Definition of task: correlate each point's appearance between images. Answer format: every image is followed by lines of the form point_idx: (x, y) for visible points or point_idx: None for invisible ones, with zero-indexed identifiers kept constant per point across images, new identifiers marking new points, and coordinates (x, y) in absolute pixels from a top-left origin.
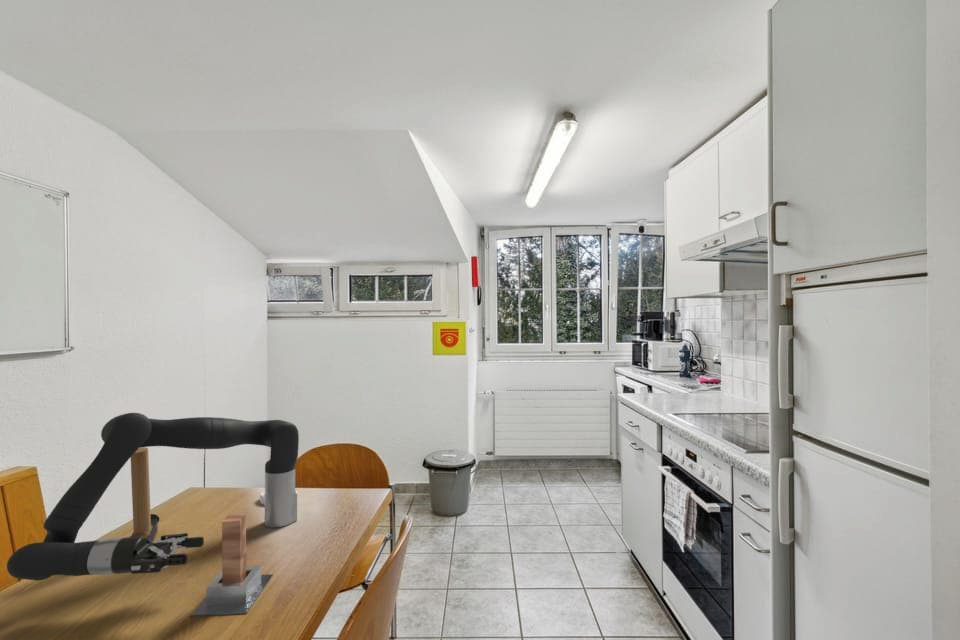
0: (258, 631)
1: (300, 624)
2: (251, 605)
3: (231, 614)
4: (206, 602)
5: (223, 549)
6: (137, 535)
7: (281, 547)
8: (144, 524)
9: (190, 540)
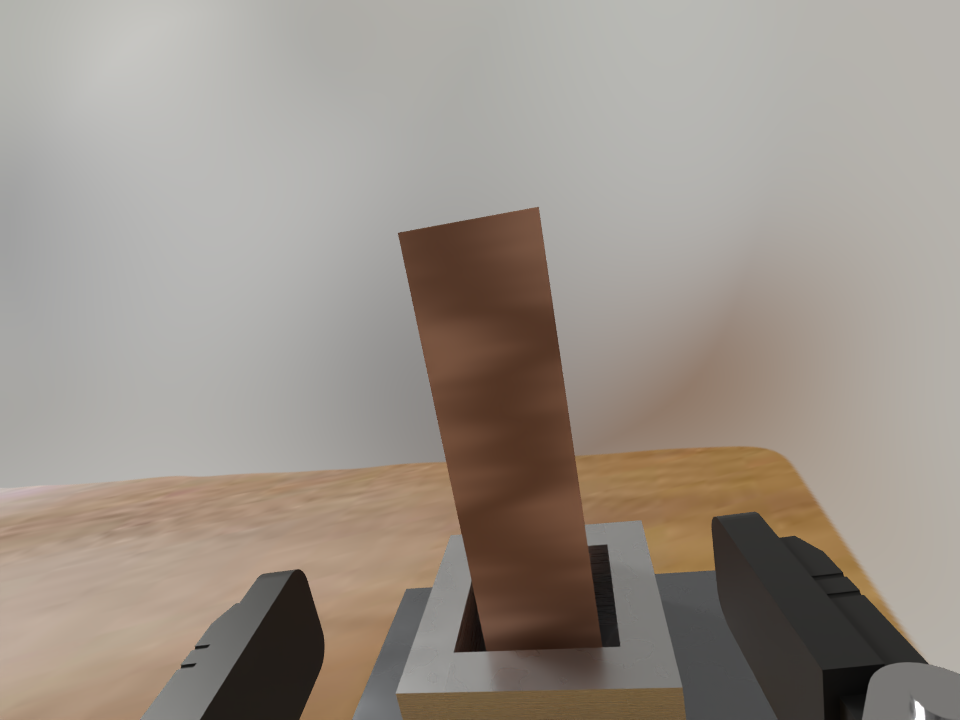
0: (823, 510)
1: (744, 449)
2: (667, 574)
3: None
4: None
5: (568, 421)
6: None
7: (114, 650)
8: None
9: (240, 693)
